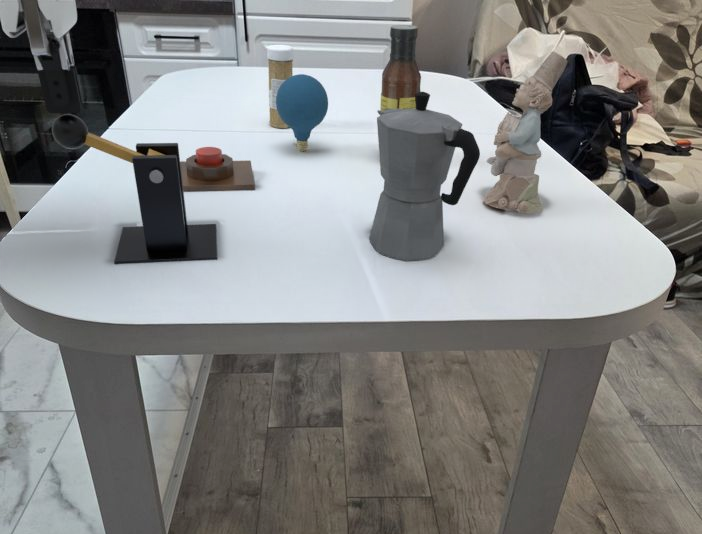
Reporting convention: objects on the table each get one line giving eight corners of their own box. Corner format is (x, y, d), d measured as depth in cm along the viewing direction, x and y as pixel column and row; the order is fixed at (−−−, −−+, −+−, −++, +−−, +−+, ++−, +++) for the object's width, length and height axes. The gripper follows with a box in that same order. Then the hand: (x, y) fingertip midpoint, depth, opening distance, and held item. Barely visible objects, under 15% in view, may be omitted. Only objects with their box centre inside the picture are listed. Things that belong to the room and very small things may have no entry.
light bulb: (291, 162, 99) (290, 83, 92) (268, 147, 105) (266, 71, 98) (336, 155, 103) (338, 78, 96) (311, 141, 109) (312, 67, 102)
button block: (167, 198, 85) (163, 173, 83) (170, 172, 93) (167, 149, 91) (255, 196, 87) (254, 171, 85) (251, 171, 95) (250, 148, 93)
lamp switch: (115, 271, 68) (95, 165, 61) (124, 235, 75) (106, 137, 69) (217, 266, 70) (208, 163, 63) (216, 232, 77) (208, 136, 71)
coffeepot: (343, 234, 79) (349, 83, 68) (398, 217, 84) (412, 74, 73) (429, 284, 69) (452, 118, 59) (485, 262, 74) (515, 105, 64)
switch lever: (45, 145, 62) (53, 113, 61) (51, 135, 65) (59, 104, 63) (165, 191, 67) (175, 163, 65) (166, 180, 70) (176, 152, 68)
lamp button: (196, 167, 87) (195, 155, 86) (196, 159, 90) (195, 146, 89) (222, 167, 87) (221, 154, 86) (222, 158, 90) (221, 146, 89)
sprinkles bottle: (273, 120, 118) (271, 43, 110) (296, 123, 117) (296, 45, 109) (265, 127, 114) (263, 47, 106) (289, 130, 114) (289, 49, 106)
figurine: (541, 198, 92) (575, 50, 80) (543, 220, 85) (581, 63, 74) (480, 191, 93) (506, 44, 82) (478, 212, 86) (505, 56, 75)
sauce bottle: (418, 156, 105) (432, 25, 93) (412, 168, 100) (427, 31, 88) (380, 151, 106) (389, 21, 94) (372, 163, 101) (381, 27, 89)
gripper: (-9, -119, 57) (41, 92, 67) (-65, -124, 45) (6, 134, 56) (78, -115, 58) (114, 92, 69) (45, -118, 46) (95, 132, 57)
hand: (66, 110), depth 62 cm, fingers closed
